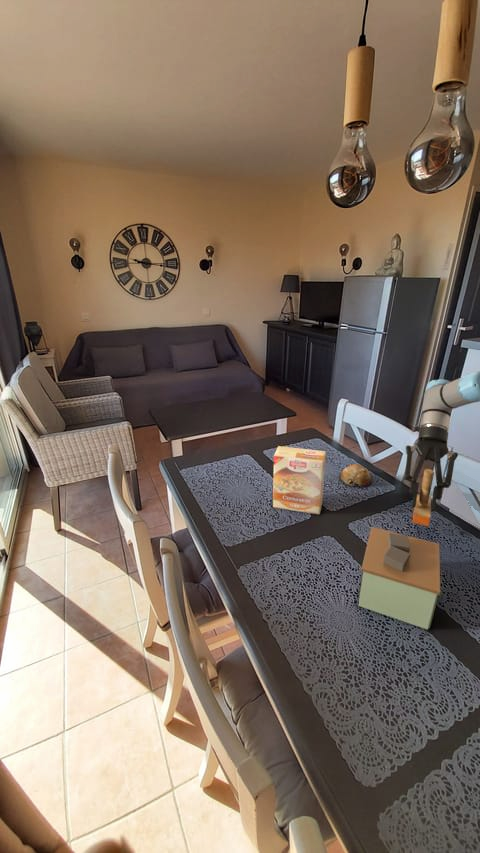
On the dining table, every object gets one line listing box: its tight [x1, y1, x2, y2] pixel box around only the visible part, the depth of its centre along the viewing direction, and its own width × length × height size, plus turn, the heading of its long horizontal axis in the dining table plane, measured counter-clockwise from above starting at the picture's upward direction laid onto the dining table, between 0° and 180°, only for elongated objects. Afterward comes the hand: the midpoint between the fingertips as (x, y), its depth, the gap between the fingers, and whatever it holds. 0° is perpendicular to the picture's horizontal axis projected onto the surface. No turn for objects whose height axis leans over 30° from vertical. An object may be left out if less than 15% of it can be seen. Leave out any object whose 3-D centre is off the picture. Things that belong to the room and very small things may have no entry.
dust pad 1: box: [388, 533, 410, 553], centre depth 81 cm, size 4×4×2 cm
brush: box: [412, 468, 435, 527], centre depth 100 cm, size 10×4×14 cm, turn 154°
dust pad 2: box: [384, 546, 410, 571], centre depth 77 cm, size 4×4×2 cm
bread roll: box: [340, 463, 371, 488], centre depth 128 cm, size 10×10×8 cm
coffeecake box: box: [272, 445, 327, 515], centre depth 113 cm, size 15×7×20 cm, turn 73°
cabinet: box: [358, 526, 441, 630], centre depth 81 cm, size 16×15×12 cm
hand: (423, 508), depth 98 cm, fingers closed on brush, 4 cm apart
